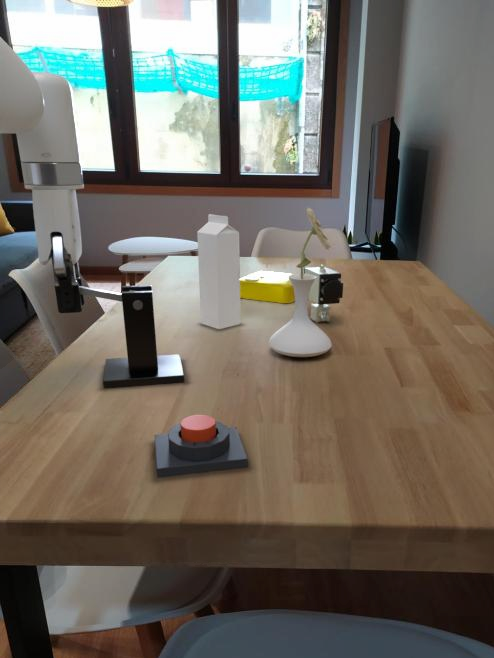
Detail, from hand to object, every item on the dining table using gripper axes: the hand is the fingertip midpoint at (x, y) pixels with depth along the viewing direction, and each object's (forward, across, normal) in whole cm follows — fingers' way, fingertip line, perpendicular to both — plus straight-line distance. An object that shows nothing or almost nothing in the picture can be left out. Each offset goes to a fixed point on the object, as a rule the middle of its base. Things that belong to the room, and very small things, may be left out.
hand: (71, 307), depth 81 cm
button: (+9, +28, +16) cm, 33 cm away
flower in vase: (+12, -6, +38) cm, 40 cm away
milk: (+12, -26, +25) cm, 38 cm away
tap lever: (0, 0, +4) cm, 4 cm away
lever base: (+11, 0, +10) cm, 15 cm away
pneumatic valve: (+12, -25, +47) cm, 55 cm away
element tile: (+12, -50, +42) cm, 67 cm away
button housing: (+11, +28, +16) cm, 34 cm away
